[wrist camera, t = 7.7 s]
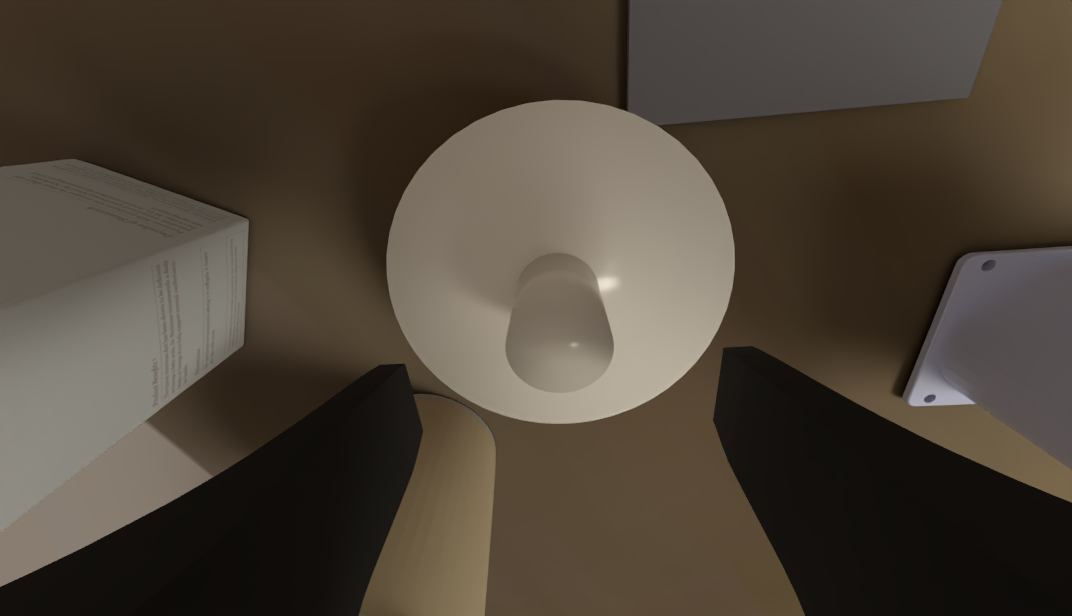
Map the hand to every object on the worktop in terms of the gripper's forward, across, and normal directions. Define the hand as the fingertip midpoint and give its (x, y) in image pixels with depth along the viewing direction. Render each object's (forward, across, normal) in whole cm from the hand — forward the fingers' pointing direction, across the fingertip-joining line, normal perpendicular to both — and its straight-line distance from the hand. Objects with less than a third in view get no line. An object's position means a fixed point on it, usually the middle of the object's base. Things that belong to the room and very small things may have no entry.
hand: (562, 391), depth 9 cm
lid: (+6, 0, 0) cm, 6 cm away
